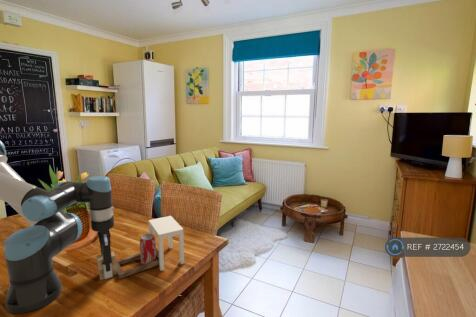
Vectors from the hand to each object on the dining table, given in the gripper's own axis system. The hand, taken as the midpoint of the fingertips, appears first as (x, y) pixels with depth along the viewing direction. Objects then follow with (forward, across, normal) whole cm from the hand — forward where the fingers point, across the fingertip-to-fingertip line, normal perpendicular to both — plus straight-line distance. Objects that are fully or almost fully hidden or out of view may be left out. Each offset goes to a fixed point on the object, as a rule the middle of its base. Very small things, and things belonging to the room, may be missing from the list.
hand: (107, 274), depth 101 cm
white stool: (+1, 0, -23) cm, 23 cm away
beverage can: (+1, 0, -16) cm, 16 cm away
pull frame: (0, 0, -9) cm, 9 cm away
